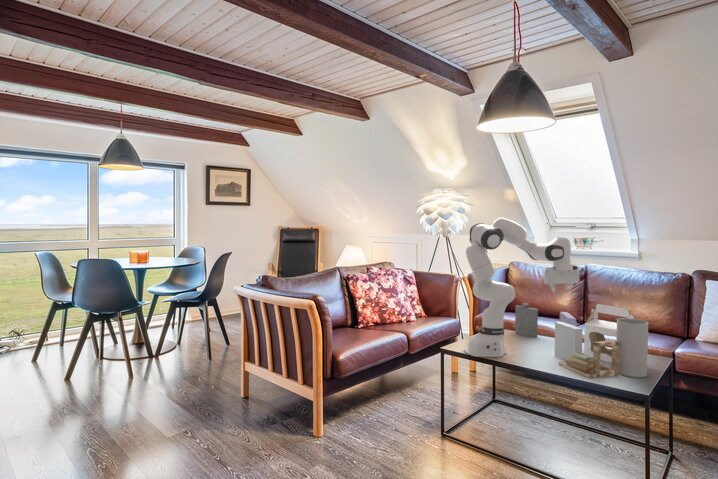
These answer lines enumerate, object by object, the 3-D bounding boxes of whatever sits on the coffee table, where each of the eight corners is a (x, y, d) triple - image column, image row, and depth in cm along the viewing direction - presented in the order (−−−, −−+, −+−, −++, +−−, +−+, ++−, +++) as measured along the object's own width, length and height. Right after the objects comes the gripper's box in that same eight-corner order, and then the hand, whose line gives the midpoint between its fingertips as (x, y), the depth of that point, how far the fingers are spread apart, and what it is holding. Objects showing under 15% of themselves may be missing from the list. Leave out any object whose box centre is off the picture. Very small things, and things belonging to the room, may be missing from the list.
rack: (587, 378, 201) (588, 343, 201) (558, 364, 221) (559, 332, 220) (618, 375, 205) (619, 341, 204) (587, 362, 224) (588, 331, 224)
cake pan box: (576, 349, 247) (577, 318, 247) (566, 349, 248) (567, 318, 248) (566, 340, 266) (567, 311, 266) (557, 340, 267) (558, 311, 266)
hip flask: (538, 337, 275) (538, 305, 274) (534, 337, 273) (534, 305, 272) (517, 331, 288) (517, 301, 288) (513, 332, 286) (513, 301, 285)
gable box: (640, 363, 224) (641, 308, 223) (626, 367, 217) (628, 311, 216) (597, 352, 243) (598, 301, 242) (583, 355, 236) (584, 304, 235)
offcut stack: (585, 373, 203) (585, 358, 202) (566, 365, 215) (566, 350, 215) (595, 373, 204) (596, 358, 204) (576, 364, 217) (576, 350, 216)
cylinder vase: (612, 368, 215) (613, 317, 214) (641, 370, 212) (643, 319, 211) (619, 376, 203) (621, 323, 202) (650, 379, 200) (652, 325, 199)
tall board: (574, 364, 221) (575, 329, 220) (554, 355, 237) (555, 322, 236) (581, 364, 222) (582, 328, 221) (561, 354, 237) (561, 321, 237)
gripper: (548, 267, 238) (548, 293, 238) (581, 266, 242) (581, 291, 243) (541, 266, 244) (541, 291, 245) (573, 265, 248) (573, 290, 249)
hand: (561, 291), depth 244 cm, fingers open, 8 cm apart
